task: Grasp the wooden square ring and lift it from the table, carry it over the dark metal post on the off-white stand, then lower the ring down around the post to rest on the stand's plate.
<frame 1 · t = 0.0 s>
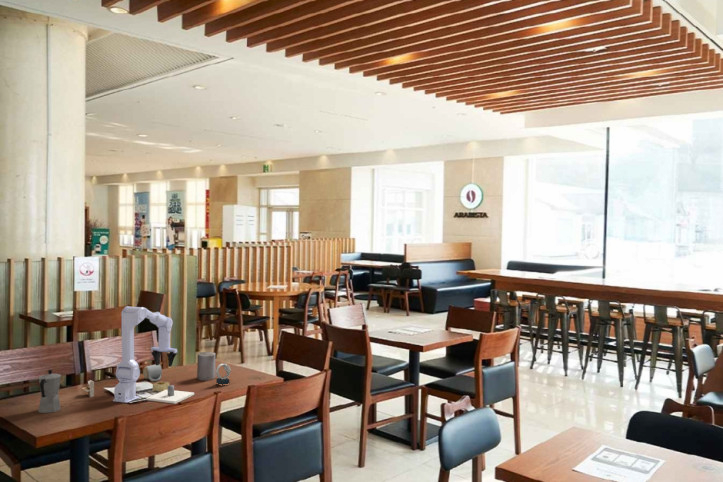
hand: (163, 365, 304), 10 cm above the table, tool pointing down, fingers open, 7 cm apart
ceramic mug: (153, 379, 316), on the table
post stand: (170, 397, 282), on the table
pillar candle: (206, 378, 320), on the table
watch: (222, 384, 308), on the table
wooden square ring: (161, 390, 294), on the table
architectural model: (89, 396, 283), on the table
coffeepot: (48, 411, 258), on the table
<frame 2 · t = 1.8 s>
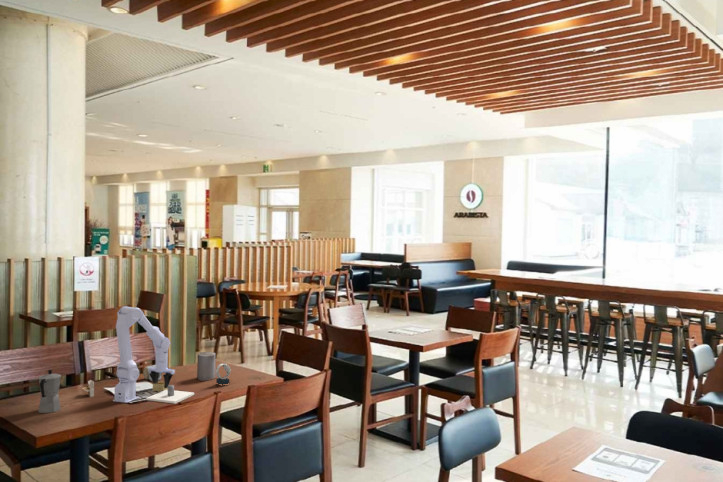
hand: (161, 387, 294), 2 cm above the table, tool pointing down, fingers closed on wooden square ring, 6 cm apart
wooden square ring: (161, 390, 294), on the table, touching gripper
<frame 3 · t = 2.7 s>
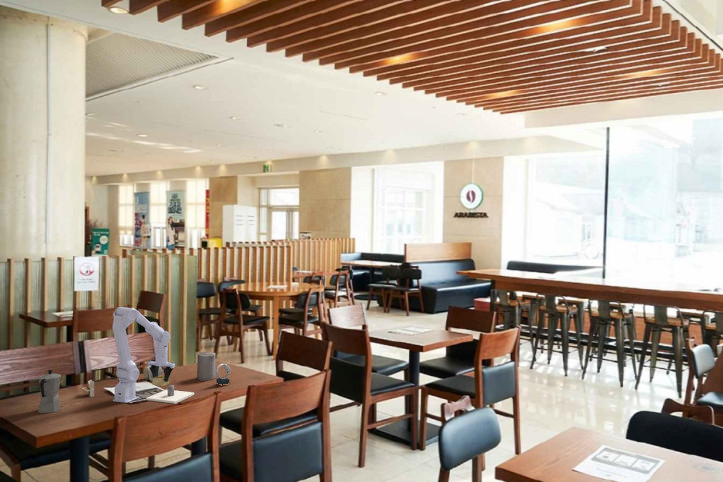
hand: (161, 380, 294), 5 cm above the table, tool pointing down, fingers closed on wooden square ring, 6 cm apart
wooden square ring: (161, 384, 294), point 3 cm above the table, touching gripper
everything else where it was.
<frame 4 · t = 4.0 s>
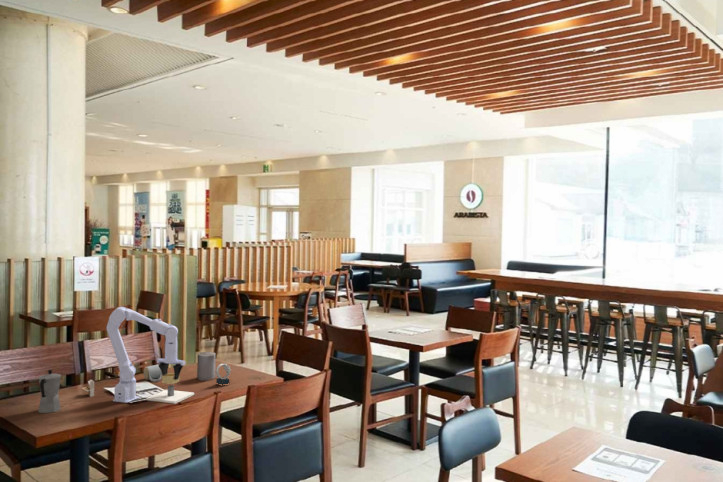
hand: (170, 378, 283), 9 cm above the table, tool pointing down, fingers closed on wooden square ring, 6 cm apart
wooden square ring: (170, 382, 283), point 7 cm above the table, touching gripper
everything else where it was.
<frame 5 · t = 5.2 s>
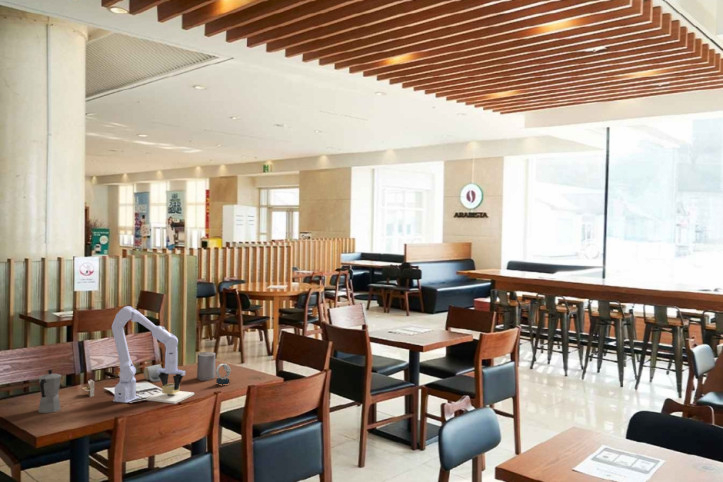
hand: (170, 388, 282), 4 cm above the table, tool pointing down, fingers closed on wooden square ring, 6 cm apart
wooden square ring: (170, 392, 282), point 2 cm above the table, touching gripper
when the fingers open (4 cm above the table, at t = 6.2 s): wooden square ring drops 1 cm, resting on post stand.
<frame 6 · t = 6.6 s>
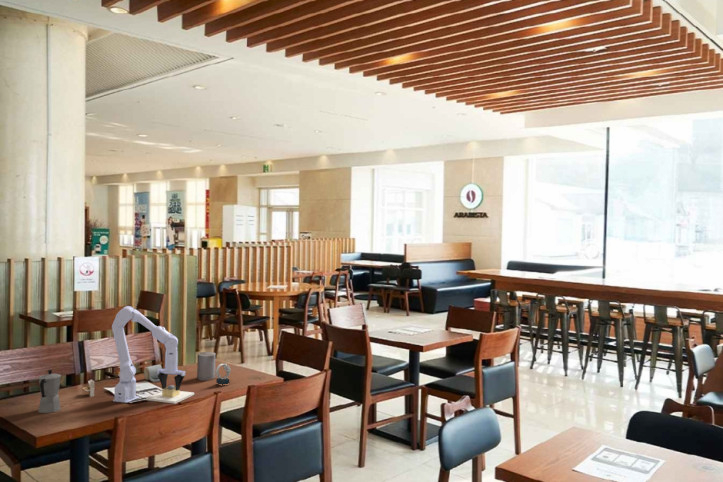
hand: (170, 389, 282), 4 cm above the table, tool pointing down, fingers open, 7 cm apart
wooden square ring: (170, 395, 282), point 1 cm above the table, touching post stand
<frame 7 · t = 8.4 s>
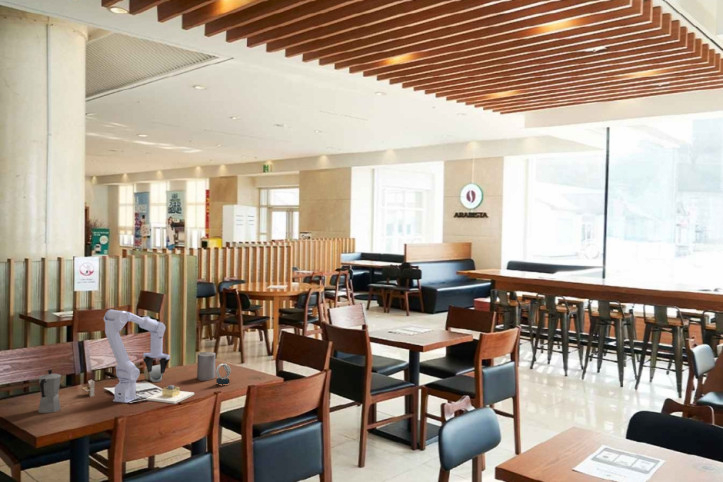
hand: (156, 372, 293), 9 cm above the table, tool pointing down, fingers open, 7 cm apart
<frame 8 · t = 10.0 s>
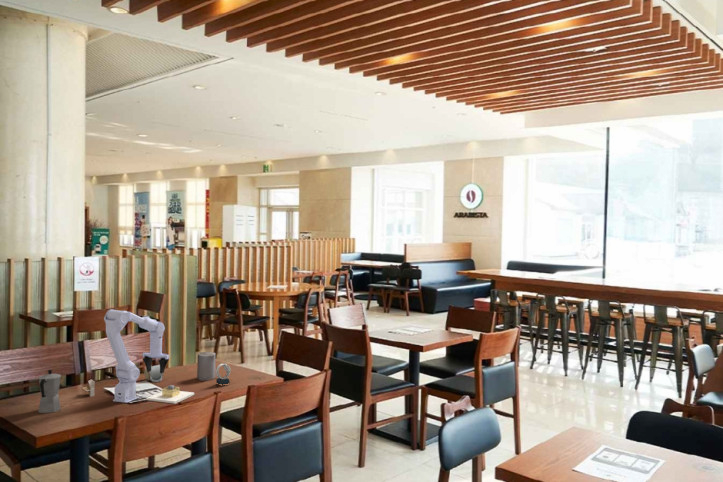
hand: (155, 372, 293), 9 cm above the table, tool pointing down, fingers open, 7 cm apart
at the end: wooden square ring 0.1 cm off-centre on the post stand, point 1.0 cm above the post stand's base; the gripper is holding nothing; wooden square ring tilted 0° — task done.
